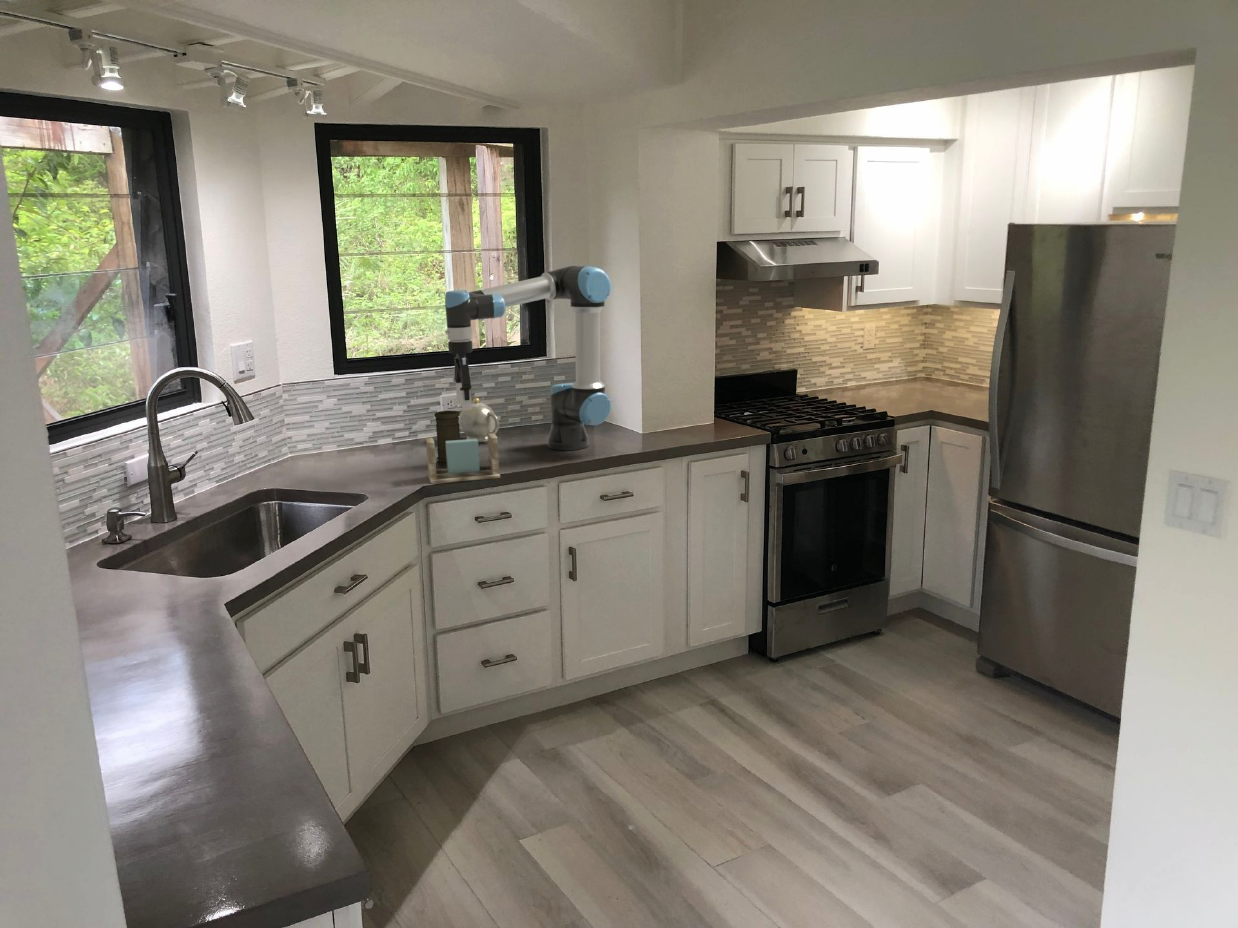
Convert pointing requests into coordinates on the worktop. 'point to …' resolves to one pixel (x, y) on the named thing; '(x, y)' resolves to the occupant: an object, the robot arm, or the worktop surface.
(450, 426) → the container
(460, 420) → the teapot
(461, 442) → the door panel
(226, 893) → the worktop surface
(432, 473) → the wooden rack
